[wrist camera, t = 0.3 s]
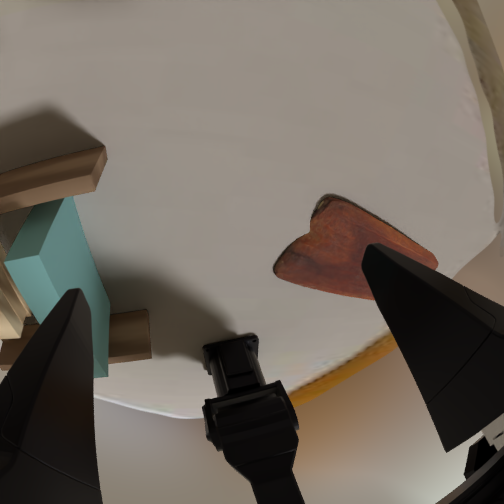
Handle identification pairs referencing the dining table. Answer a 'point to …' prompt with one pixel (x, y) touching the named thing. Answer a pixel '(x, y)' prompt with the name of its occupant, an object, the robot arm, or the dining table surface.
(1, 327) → the offcut stack
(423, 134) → the dining table surface
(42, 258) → the teal sheet
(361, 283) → the wooden tablet
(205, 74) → the dining table surface
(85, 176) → the walnut rack
